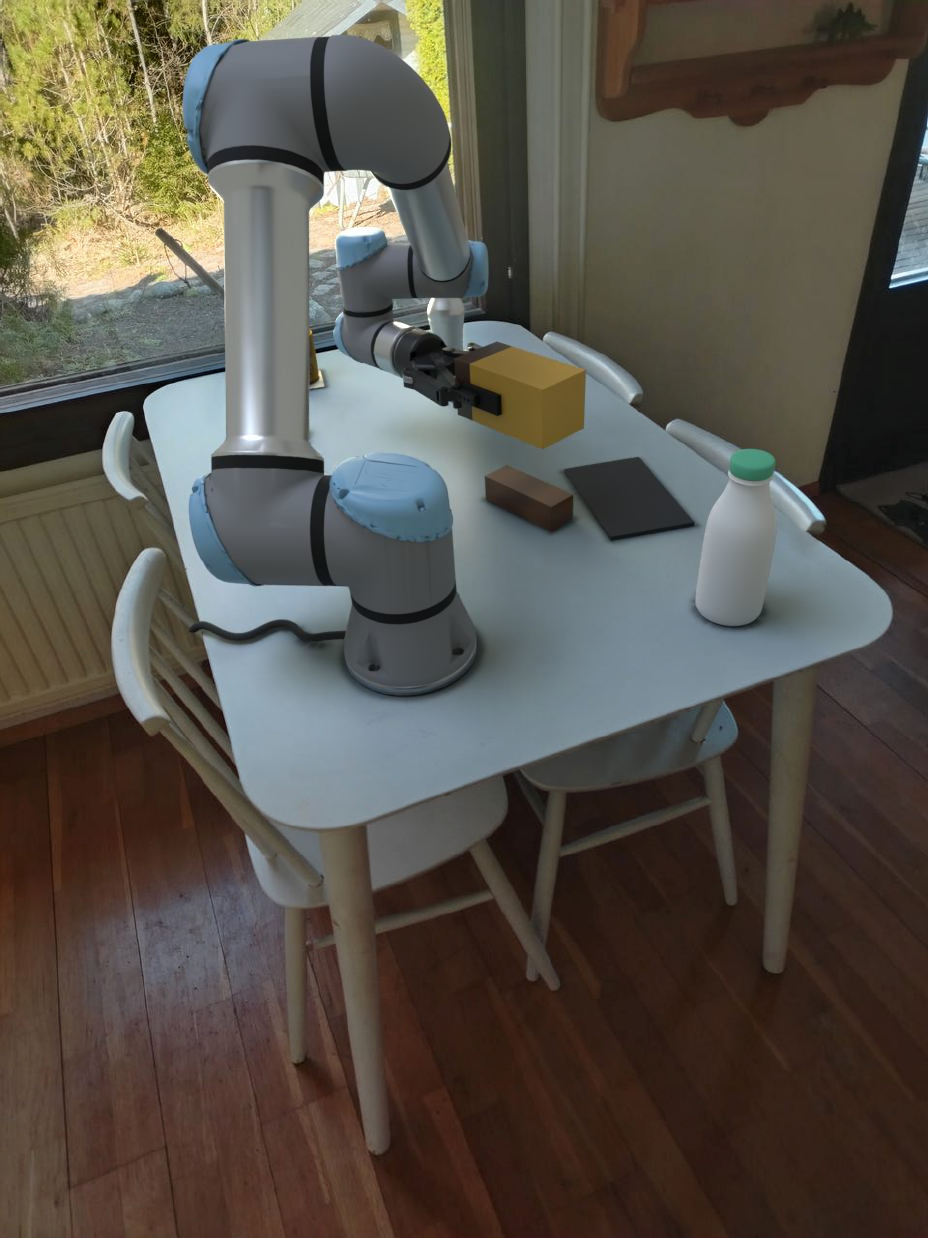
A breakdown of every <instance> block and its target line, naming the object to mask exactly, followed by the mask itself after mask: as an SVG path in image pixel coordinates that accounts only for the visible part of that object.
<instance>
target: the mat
mask: <svg viewBox="0 0 928 1238" xmlns="http://www.w3.org/2000/svg"><path fill="white" fill-rule="evenodd" d="M563 470H564V472H563V473H564V474H565V475H566V477H567V478H568V480H569V481H570V483H571V484H572V486H573V487H574V489H575V490H576V492H577V493H578V494H579V496H580V498H581V499H582V501H583V502H584V503H585V505H586V506H587V508H588V509H589V511H590V512H591V514H592V515H593V517H594V518H595V520H596V521H597V523H598V524H599V525H600V527H601V528H602V530H603V532H604V533H605V534H606V536H607V537H608V539H609V541H616V540H621V539H626V538H632V537H633V538H634V537H637V536H643V535H649V534H654V533H660V532H661V533H662V532H666V531H671V530H676V529H684V528H688V527H694V526H695V521H694V519H692V518H691V517H690V515H689V514H688V513H687V512H686V510H685V509H684V508H683V507H682V506H681V505H680V503H679V502H678V501H677V500H676V499H675V498H674V496H673V495H672V494H671V493H670V492H669V491H668V489H667V488H666V487H665V486H664V484H662V482H661V481H660V480H659V479H658V477H657V476H655V474H654V473H653V472H652V471H651V470H650V468H649V467H648V466H647V464H645V463H644V461H643V460H642V459H641V458H640V456H635V457H629V458H622V459H617V460H616V459H615V460H610V461H605V462H598V463H597V462H596V463H592V464H586V465H579V466H573V467H568V468H567V467H566V468H564V469H563Z"/></svg>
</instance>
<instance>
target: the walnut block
mask: <svg viewBox="0 0 928 1238" xmlns="http://www.w3.org/2000/svg"><path fill="white" fill-rule="evenodd" d="M484 489H485V492H484V493H485V501H487V502H488V503H491V504H493V505H495V506H497V507H499V508H500V509H503V510H505V511H507V512H510V513H512V514H513V515H515V516H517V517H520V518H522V519H523V520H525V521H527V522H530V523H532V524H534V525H536V526H538V527H540V528H542V529H544V530H546V531H548V532H550V533H552V532H554V531H555V530H557V529H559V528H561V527H563V526H564V525H566V524H567V523H570V522H572V521H573V520H574V498H575V497H574V493H571V492H569V491H567V490H565V489H563V488H560V487H558V486H556V485H553V484H551V483H549V482H547V481H544V480H542V479H540V478H538V477H535V476H533V475H531V474H529V473H526V472H524V471H522V470H520V469H517V468H515V467H512V466H510V465H509V464H505V465H504V466H501V467H499V468H497V469H496V470H493V471H491V472H490V473H487V474H485V475H484Z"/></svg>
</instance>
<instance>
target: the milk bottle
mask: <svg viewBox="0 0 928 1238" xmlns="http://www.w3.org/2000/svg"><path fill="white" fill-rule="evenodd" d="M728 465H729V466H728V470H727V471H728V472H727V476H728V477H729V480H728V483H727V484H726V486H725V488H724V490H723V492H722V493H721V495H720V496H719V497H718V499H717V500H716V502H715V503H714V504H713V506H712V508H711V510H710V512H709V514H708V517H707V521H706V525H705V530H704V535H703V541H702V548H701V555H700V564H699V567H698V568H699V569H698V574H697V575H698V576H697V583H696V592H695V600H694V603H695V607H696V609H697V611H698V613H699V614H700V615H701V616H702V617H703V618H705V620H708V621H709V622H712V623H713V624H714V623H715V624H717V625H721V626H727V627H739V626H745V625H748V624H750V623H752V622H754V621H755V620H756V619H757V618H758V617H759V616H760V615H761V613H762V610H763V606H764V602H765V598H766V593H767V588H768V583H769V577H770V572H771V568H772V562H773V556H774V552H775V546H776V541H777V540H776V539H777V532H778V516H777V512H776V509H775V505H774V502H773V500H772V496H771V490H770V483H771V482H772V480H773V479H774V473H775V469H776V458H775V457H774V455H772V454H771V453H770V452H768V451H765V450H762V449H756V448H743V449H739V450H736V451H735V452H733V453H732V455H731V456H730V458H729V463H728Z"/></svg>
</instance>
